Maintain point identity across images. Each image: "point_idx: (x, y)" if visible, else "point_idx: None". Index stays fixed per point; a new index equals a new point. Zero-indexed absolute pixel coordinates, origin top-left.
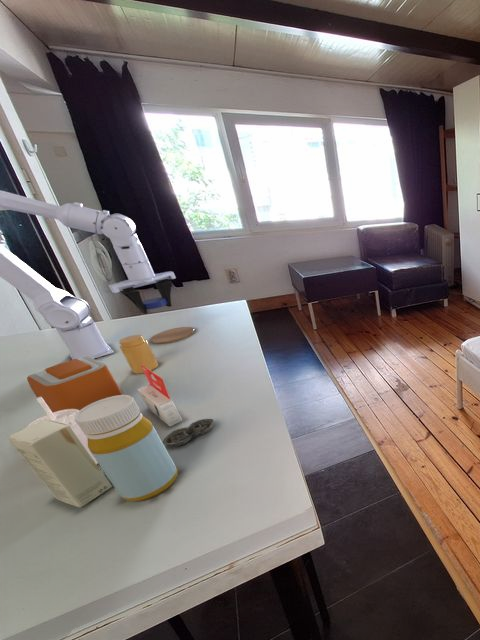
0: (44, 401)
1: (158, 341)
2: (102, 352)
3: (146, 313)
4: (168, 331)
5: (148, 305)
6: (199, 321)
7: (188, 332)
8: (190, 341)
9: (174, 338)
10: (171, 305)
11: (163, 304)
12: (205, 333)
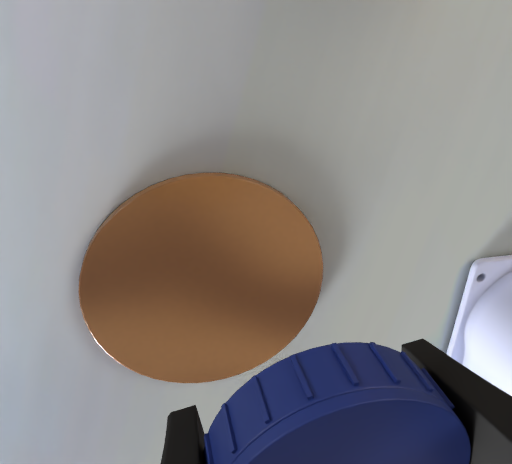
0: None
1: (303, 228)
2: (510, 276)
3: (413, 341)
4: (213, 355)
5: (430, 390)
6: (24, 420)
7: (125, 241)
8: (153, 62)
9: (223, 200)
10: (169, 420)
11: (268, 385)
12: (22, 146)
